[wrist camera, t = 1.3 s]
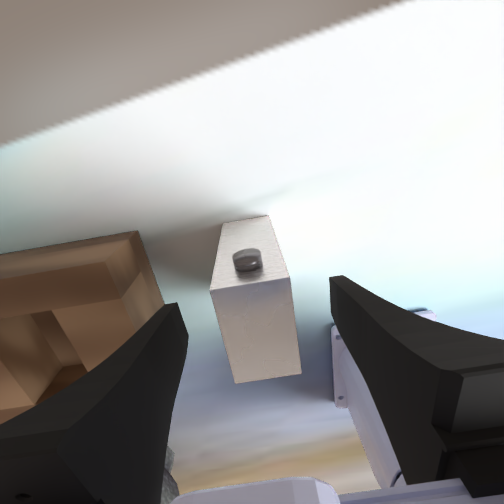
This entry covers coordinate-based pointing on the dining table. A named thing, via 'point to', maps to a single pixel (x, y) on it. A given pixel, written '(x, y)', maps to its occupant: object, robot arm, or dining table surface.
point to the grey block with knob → (254, 302)
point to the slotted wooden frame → (68, 313)
